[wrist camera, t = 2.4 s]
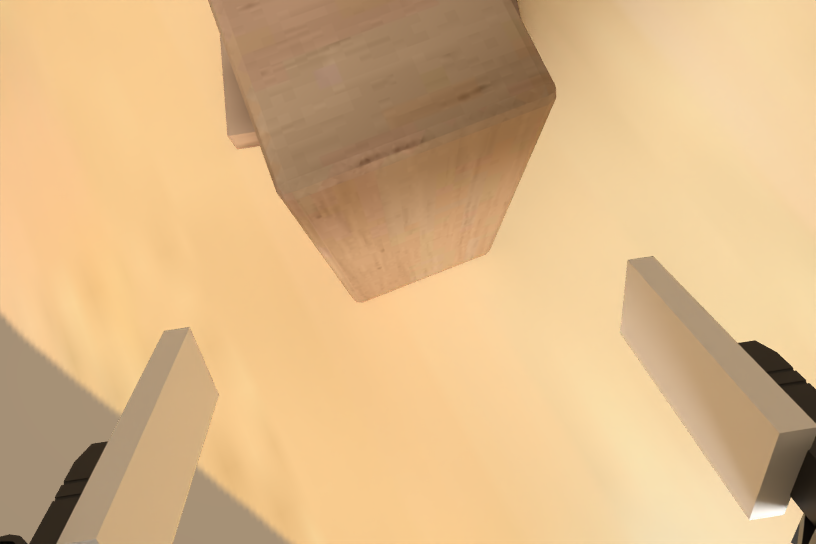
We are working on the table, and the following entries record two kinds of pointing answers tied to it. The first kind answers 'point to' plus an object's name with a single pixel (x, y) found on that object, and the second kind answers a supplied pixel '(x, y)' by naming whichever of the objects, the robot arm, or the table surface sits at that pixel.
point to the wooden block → (390, 124)
